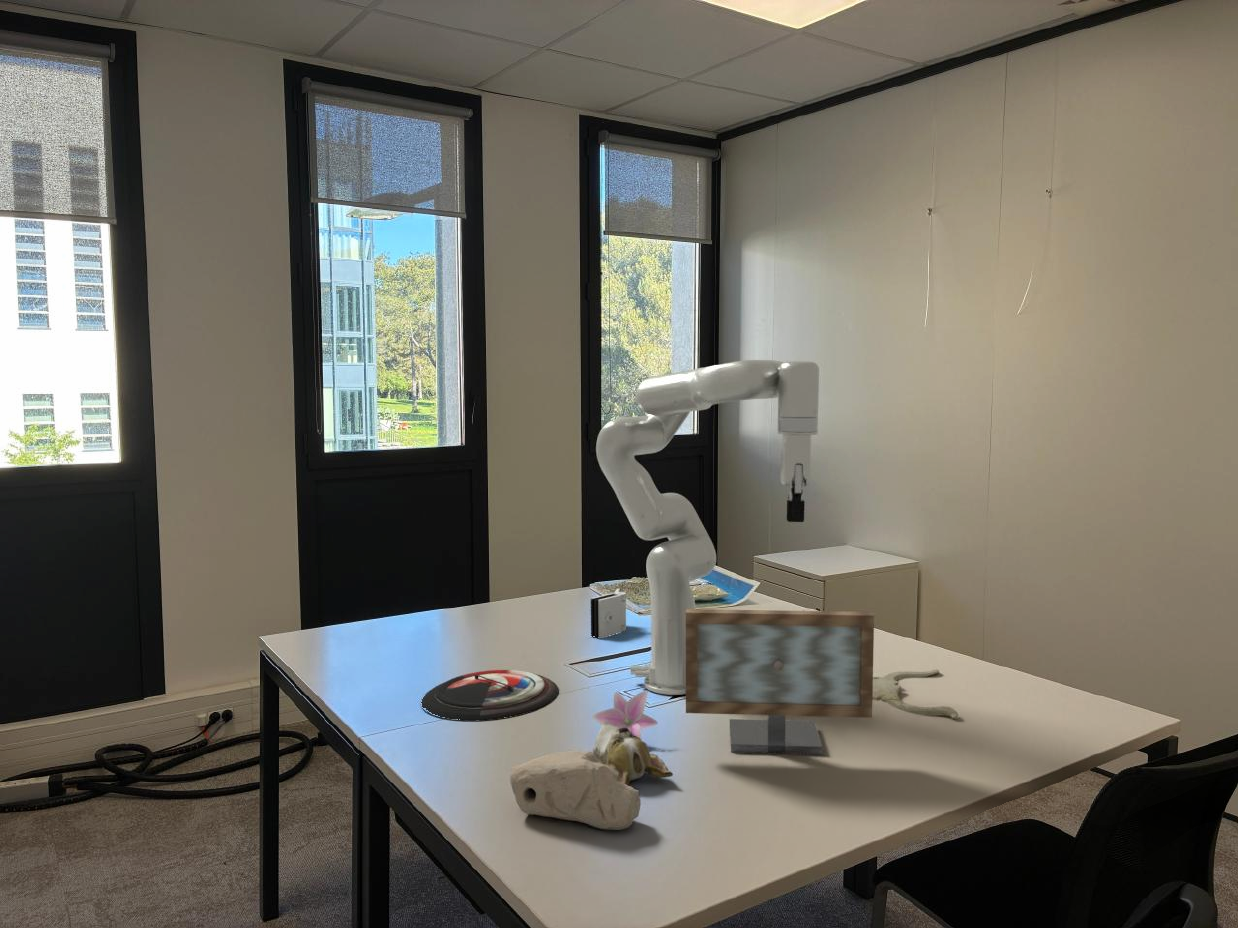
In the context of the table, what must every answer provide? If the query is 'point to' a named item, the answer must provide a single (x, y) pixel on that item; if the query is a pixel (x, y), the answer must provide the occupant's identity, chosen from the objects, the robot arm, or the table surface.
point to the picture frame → (779, 662)
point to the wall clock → (490, 695)
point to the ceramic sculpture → (627, 754)
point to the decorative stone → (575, 790)
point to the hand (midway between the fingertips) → (795, 521)
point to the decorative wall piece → (889, 690)
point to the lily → (627, 714)
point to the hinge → (608, 614)
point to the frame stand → (775, 736)
